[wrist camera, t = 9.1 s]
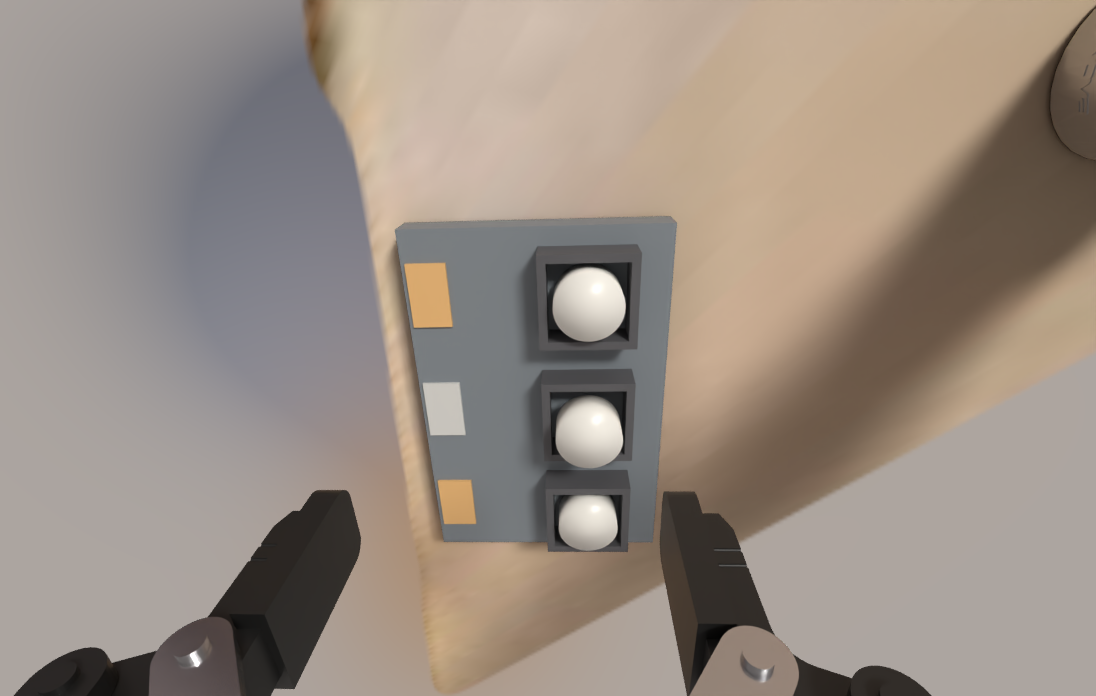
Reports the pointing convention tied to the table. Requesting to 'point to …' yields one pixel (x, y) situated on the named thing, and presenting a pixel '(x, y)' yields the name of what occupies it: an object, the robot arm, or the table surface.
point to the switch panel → (534, 369)
